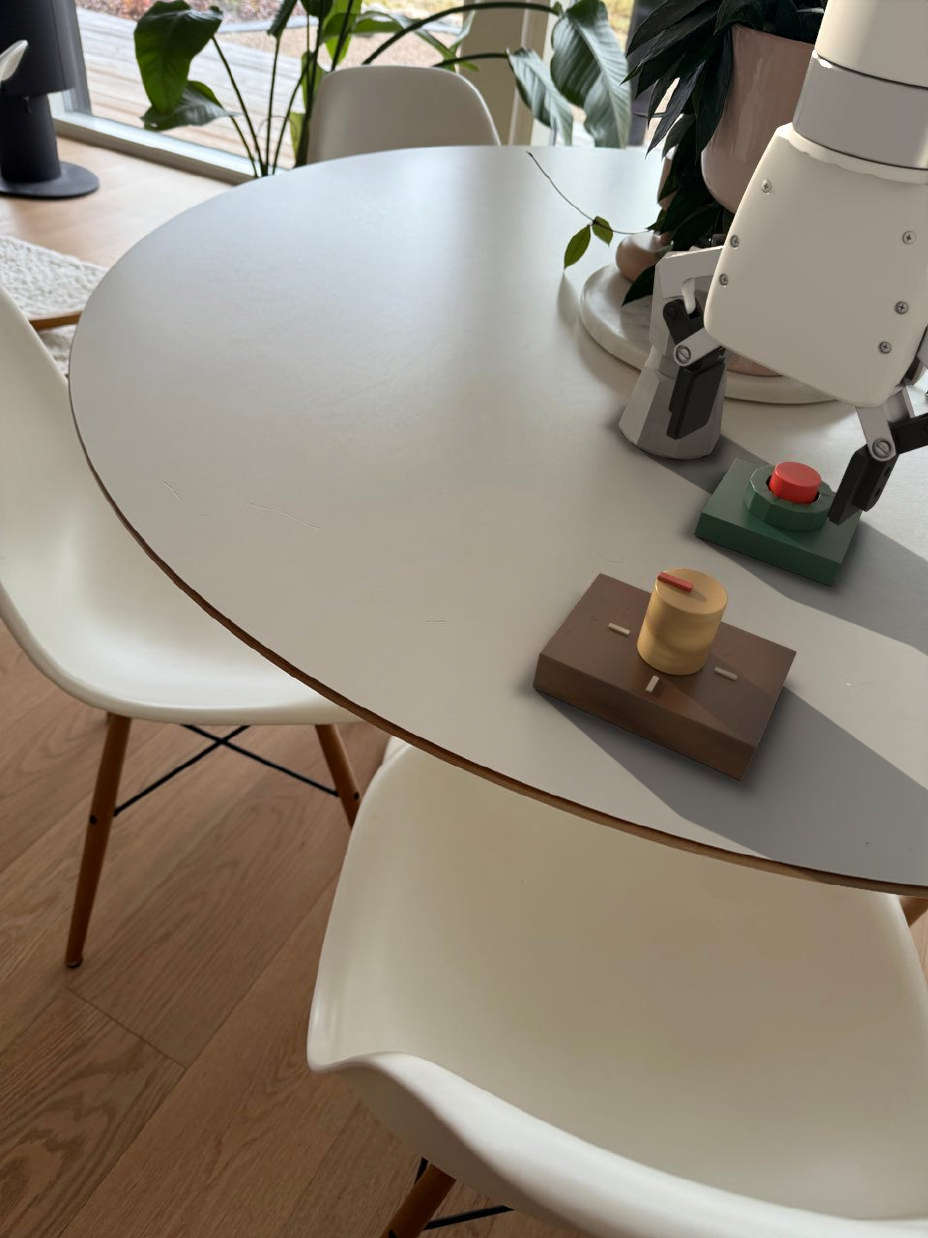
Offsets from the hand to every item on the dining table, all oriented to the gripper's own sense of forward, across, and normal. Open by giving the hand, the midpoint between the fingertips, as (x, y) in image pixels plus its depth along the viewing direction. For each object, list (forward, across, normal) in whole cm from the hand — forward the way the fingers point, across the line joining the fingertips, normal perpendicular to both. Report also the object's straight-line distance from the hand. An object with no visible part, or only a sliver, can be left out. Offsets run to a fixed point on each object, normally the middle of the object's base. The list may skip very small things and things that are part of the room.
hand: (762, 470), depth 52 cm
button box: (+18, +6, -24) cm, 30 cm away
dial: (+15, +2, -1) cm, 15 cm away
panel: (+18, +2, -1) cm, 18 cm away
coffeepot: (+18, +20, -28) cm, 39 cm away
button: (+14, +6, -24) cm, 28 cm away
